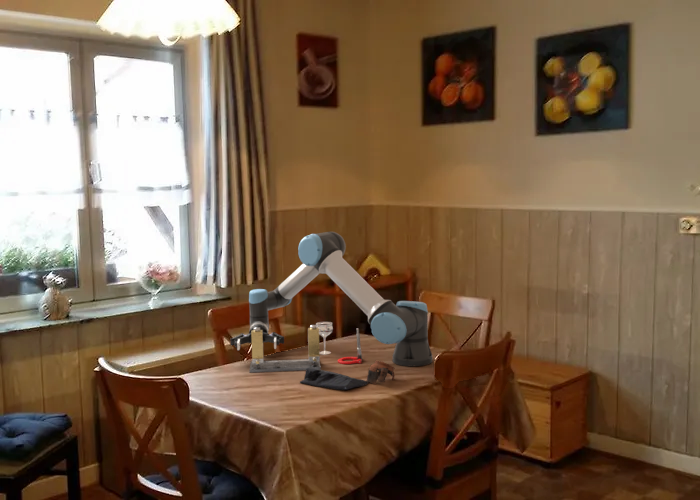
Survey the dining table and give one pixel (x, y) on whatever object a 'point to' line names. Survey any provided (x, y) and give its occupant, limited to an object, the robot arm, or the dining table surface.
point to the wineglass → (324, 332)
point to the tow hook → (356, 359)
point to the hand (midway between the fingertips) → (256, 345)
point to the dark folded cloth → (331, 380)
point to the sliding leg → (257, 346)
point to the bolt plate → (297, 363)
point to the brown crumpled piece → (382, 373)
